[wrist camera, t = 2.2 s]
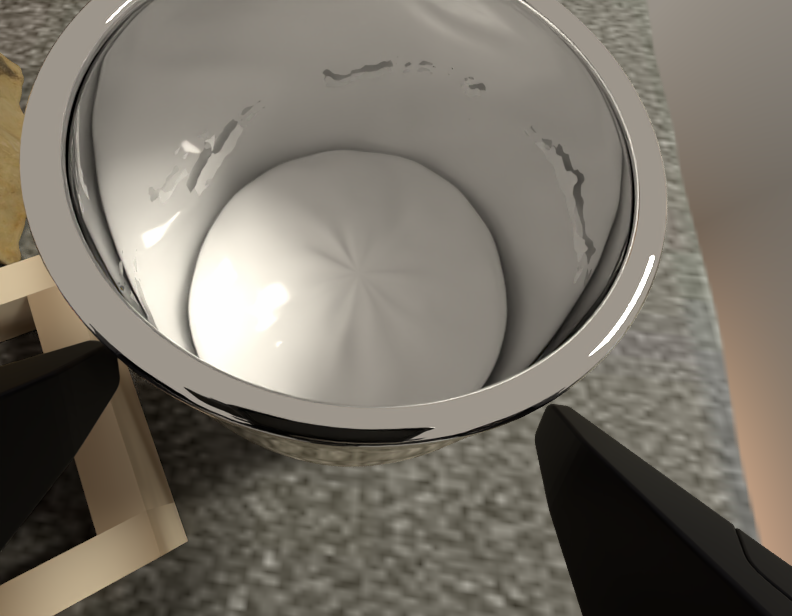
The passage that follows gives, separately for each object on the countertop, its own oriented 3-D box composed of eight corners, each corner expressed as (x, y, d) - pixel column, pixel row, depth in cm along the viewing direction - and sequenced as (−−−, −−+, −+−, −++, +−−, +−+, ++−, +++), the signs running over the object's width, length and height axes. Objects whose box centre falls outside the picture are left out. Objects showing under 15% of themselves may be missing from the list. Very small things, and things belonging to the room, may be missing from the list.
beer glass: (243, 442, 17) (-227, 371, 3) (289, 289, 19) (167, -153, 5) (408, 475, 17) (724, 556, 3) (433, 321, 20) (670, -10, 6)
